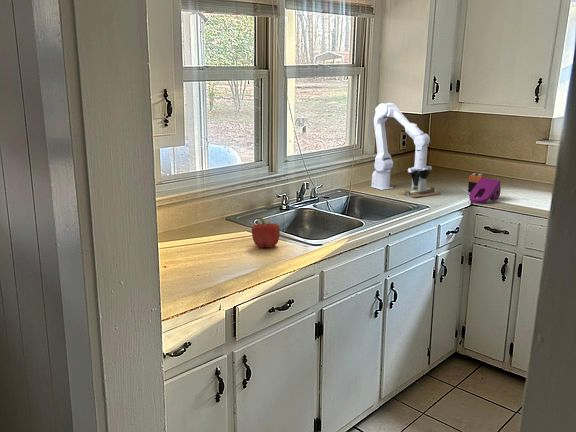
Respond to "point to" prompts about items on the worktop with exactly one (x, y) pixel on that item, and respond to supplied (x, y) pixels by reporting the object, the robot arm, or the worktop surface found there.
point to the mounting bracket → (485, 191)
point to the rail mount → (420, 193)
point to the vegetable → (265, 234)
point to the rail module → (420, 185)
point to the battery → (474, 180)
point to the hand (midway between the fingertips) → (418, 185)
